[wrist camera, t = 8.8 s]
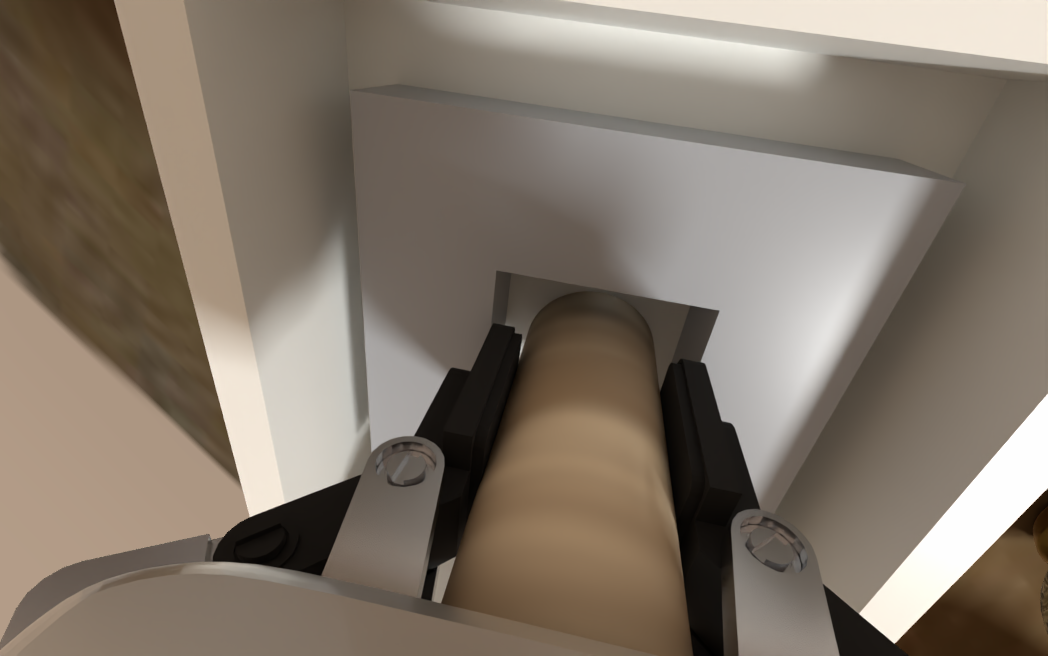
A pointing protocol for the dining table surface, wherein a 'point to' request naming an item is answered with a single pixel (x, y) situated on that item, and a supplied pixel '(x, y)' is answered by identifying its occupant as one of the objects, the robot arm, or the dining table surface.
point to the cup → (1044, 535)
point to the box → (633, 235)
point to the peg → (580, 489)
